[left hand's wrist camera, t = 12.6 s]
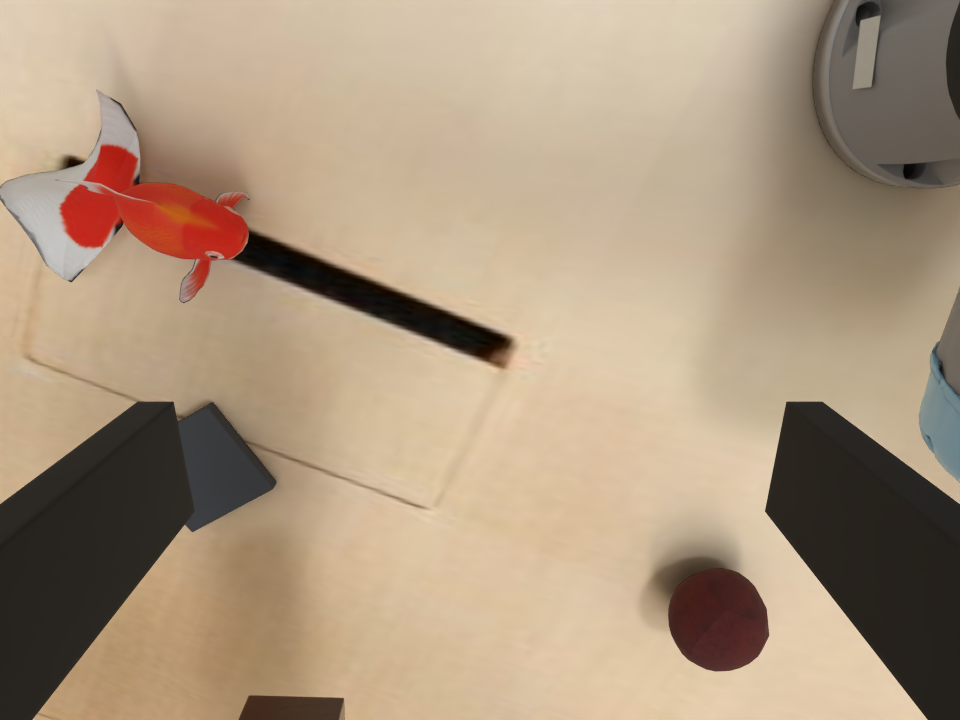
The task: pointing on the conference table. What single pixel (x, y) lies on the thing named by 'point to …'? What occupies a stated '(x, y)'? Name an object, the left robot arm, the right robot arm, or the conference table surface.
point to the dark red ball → (718, 620)
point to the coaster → (219, 467)
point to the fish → (122, 209)
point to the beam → (293, 708)
